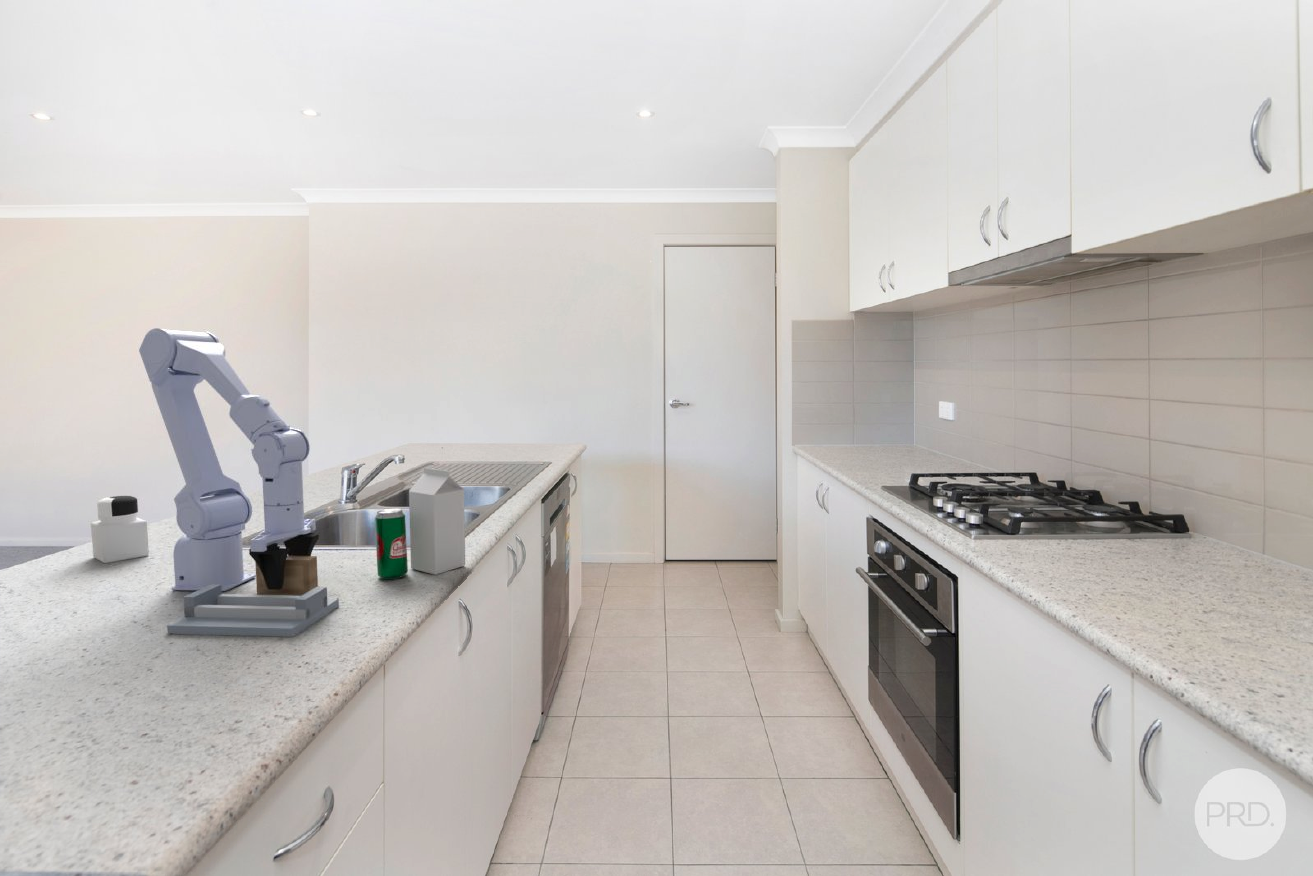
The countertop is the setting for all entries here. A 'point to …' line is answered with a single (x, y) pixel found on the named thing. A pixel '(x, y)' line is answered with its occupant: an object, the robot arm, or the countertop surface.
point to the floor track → (251, 613)
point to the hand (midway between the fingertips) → (287, 582)
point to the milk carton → (436, 523)
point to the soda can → (391, 544)
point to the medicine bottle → (119, 530)
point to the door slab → (293, 576)
